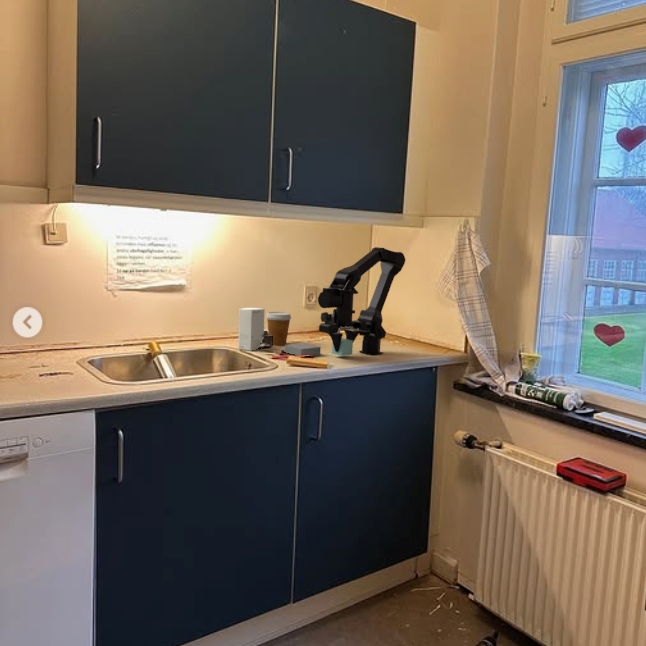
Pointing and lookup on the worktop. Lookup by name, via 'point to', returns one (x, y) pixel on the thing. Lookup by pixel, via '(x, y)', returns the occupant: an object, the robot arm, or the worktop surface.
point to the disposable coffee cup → (278, 327)
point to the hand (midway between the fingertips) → (342, 350)
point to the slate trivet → (302, 349)
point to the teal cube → (344, 347)
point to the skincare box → (251, 328)
